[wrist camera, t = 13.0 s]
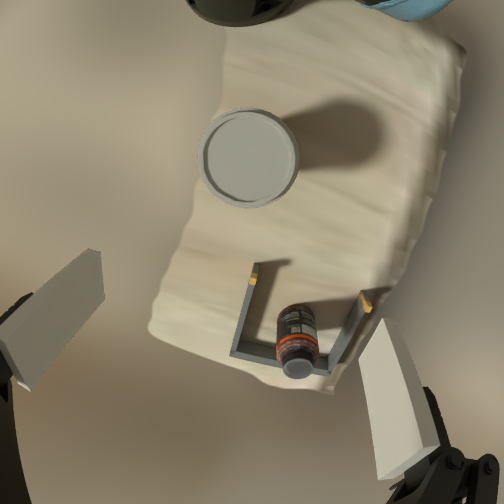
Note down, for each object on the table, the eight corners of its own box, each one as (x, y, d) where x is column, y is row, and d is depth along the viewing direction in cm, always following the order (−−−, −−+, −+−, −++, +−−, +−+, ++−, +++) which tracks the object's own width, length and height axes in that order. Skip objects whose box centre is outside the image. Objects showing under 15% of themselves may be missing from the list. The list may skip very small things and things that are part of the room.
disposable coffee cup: (237, 197, 38) (218, 225, 27) (209, 132, 35) (177, 132, 24) (305, 173, 36) (315, 191, 25) (278, 105, 32) (277, 90, 21)
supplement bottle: (291, 338, 46) (291, 390, 36) (269, 315, 45) (264, 366, 34) (321, 321, 44) (329, 372, 34) (301, 296, 43) (304, 346, 32)
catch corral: (254, 263, 41) (250, 277, 37) (365, 291, 41) (372, 307, 37) (232, 344, 48) (227, 361, 44) (327, 364, 48) (329, 382, 44)
